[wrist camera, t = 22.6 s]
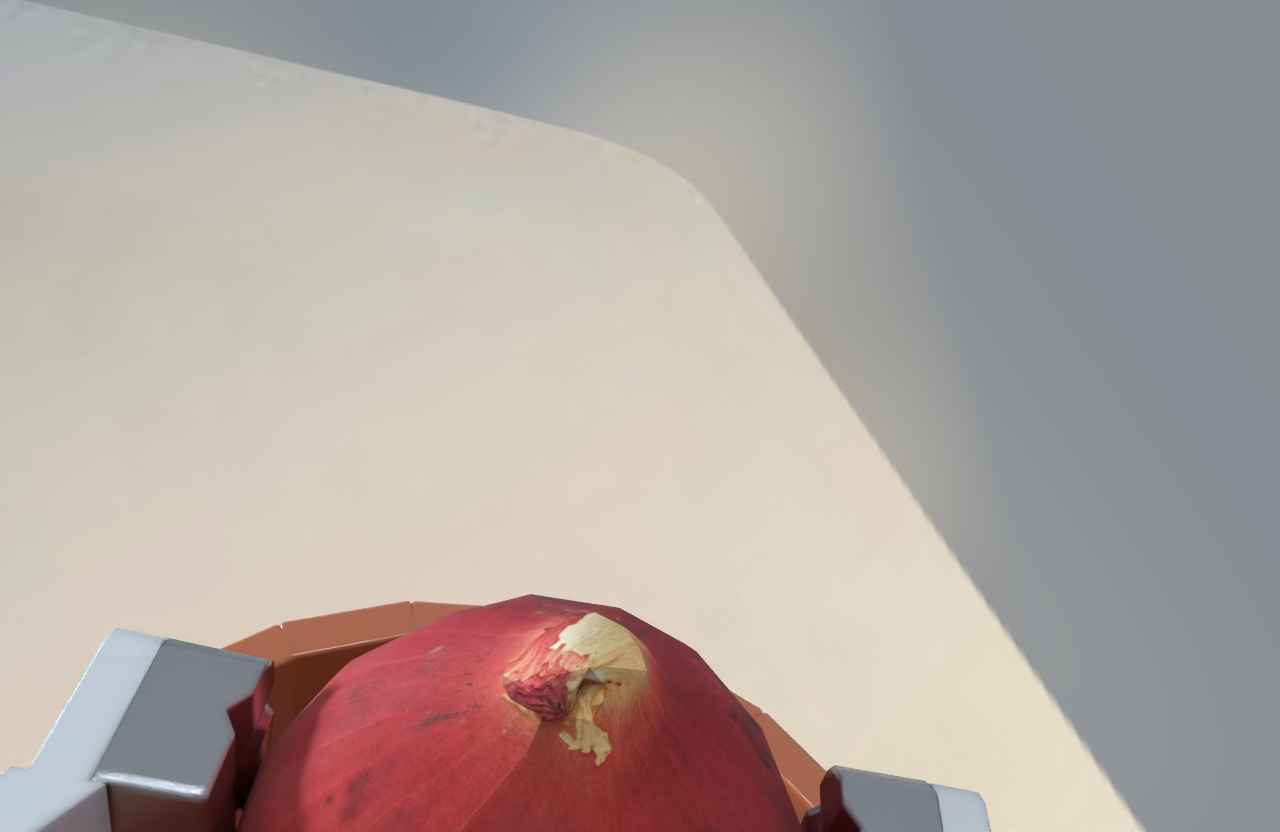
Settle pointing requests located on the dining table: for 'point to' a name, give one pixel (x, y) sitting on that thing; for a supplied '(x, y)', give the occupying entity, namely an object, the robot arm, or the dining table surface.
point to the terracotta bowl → (334, 640)
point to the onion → (523, 734)
